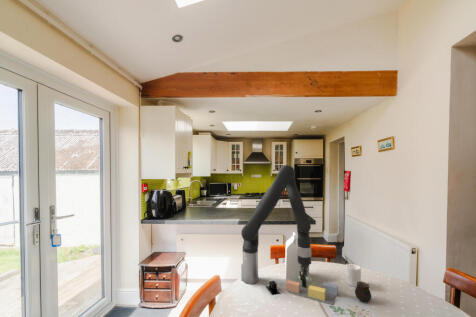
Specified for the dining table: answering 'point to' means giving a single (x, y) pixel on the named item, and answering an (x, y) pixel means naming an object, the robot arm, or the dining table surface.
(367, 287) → the mate gourd
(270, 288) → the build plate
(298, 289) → the terracotta block
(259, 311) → the dining table surface
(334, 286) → the blue block
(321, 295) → the mustard block
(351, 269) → the white cup
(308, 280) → the green block
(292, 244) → the milk
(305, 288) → the mat
